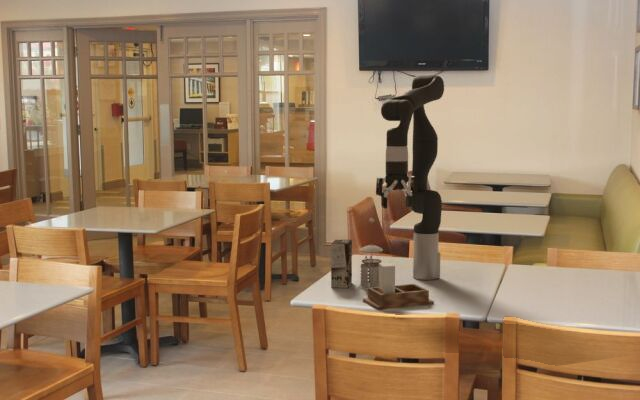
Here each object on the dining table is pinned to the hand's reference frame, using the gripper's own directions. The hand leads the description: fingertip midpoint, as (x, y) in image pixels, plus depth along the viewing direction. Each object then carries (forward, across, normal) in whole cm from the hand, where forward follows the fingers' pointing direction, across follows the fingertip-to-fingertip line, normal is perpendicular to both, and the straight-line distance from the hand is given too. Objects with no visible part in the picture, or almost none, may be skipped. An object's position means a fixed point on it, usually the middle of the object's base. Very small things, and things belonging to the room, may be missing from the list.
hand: (396, 207), depth 258 cm
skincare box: (+29, +8, +10) cm, 32 cm away
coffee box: (+30, +12, -20) cm, 38 cm away
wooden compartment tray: (+30, +4, +10) cm, 32 cm away
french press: (+30, +4, -12) cm, 33 cm away
